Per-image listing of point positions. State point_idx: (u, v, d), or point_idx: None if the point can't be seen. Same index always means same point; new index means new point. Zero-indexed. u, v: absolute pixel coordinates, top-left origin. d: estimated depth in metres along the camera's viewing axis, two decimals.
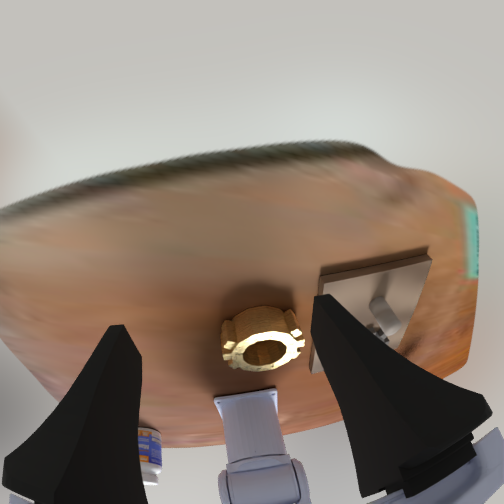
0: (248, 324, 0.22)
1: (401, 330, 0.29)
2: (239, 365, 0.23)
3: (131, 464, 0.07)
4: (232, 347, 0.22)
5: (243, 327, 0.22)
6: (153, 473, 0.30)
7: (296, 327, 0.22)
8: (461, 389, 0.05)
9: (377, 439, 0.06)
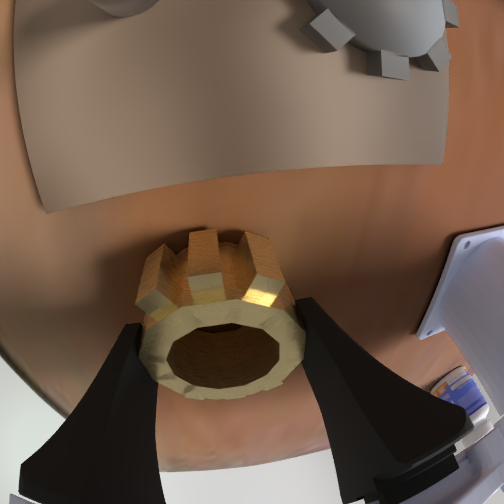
0: None
1: None
2: (261, 387, 0.10)
3: (150, 465, 0.07)
4: None
5: None
6: (478, 424, 0.18)
7: (138, 299, 0.08)
8: (441, 401, 0.05)
9: (353, 448, 0.06)
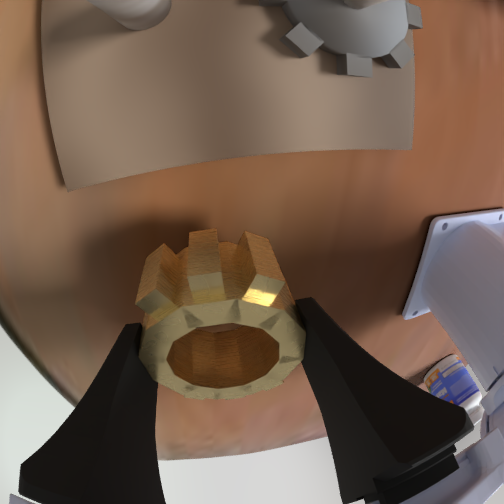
0: None
1: None
2: (261, 387, 0.10)
3: (150, 465, 0.07)
4: None
5: None
6: (471, 411, 0.19)
7: (138, 299, 0.08)
8: (441, 401, 0.05)
9: (353, 448, 0.06)
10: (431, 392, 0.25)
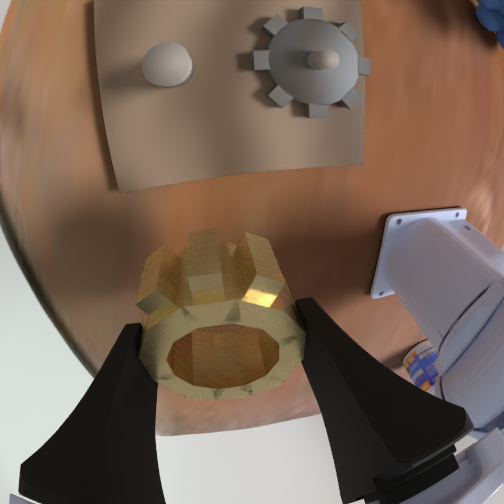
0: None
1: None
2: (261, 387, 0.10)
3: (150, 465, 0.07)
4: None
5: None
6: None
7: (138, 300, 0.08)
8: (441, 401, 0.05)
9: (353, 448, 0.06)
10: (409, 373, 0.30)
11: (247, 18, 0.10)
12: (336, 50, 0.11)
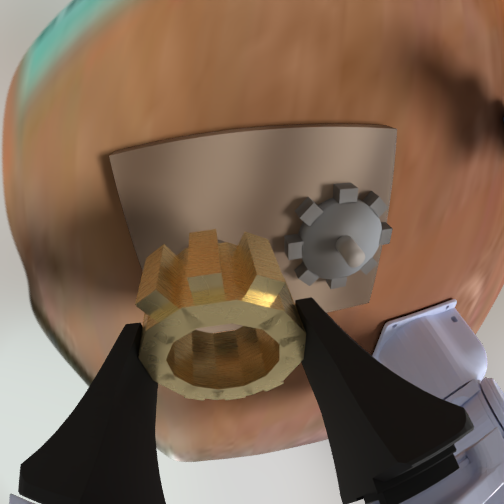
0: None
1: (331, 142, 0.12)
2: (261, 388, 0.10)
3: (150, 465, 0.07)
4: None
5: None
6: None
7: (138, 300, 0.08)
8: (441, 401, 0.05)
9: (353, 448, 0.06)
10: None
11: (283, 199, 0.13)
12: (363, 229, 0.14)
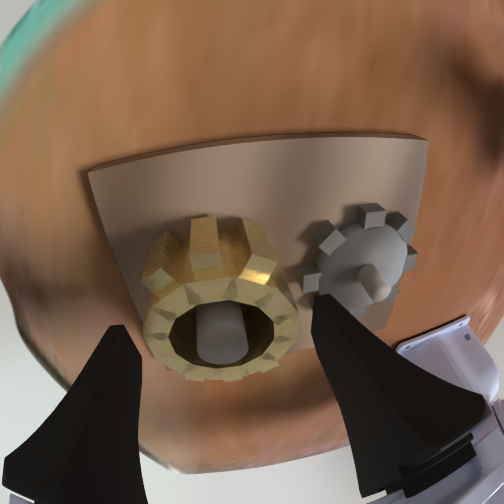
0: None
1: (358, 155, 0.10)
2: (258, 368, 0.11)
3: (131, 464, 0.07)
4: None
5: None
6: None
7: (143, 278, 0.08)
8: (461, 389, 0.05)
9: (377, 439, 0.06)
10: None
11: (299, 224, 0.11)
12: (388, 256, 0.12)
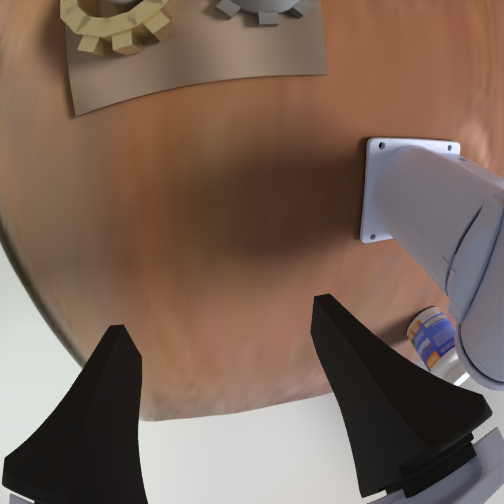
0: None
1: None
2: (145, 14, 0.08)
3: (131, 464, 0.07)
4: (94, 37, 0.08)
5: None
6: (457, 362, 0.22)
7: None
8: (461, 389, 0.05)
9: (377, 439, 0.06)
10: (415, 345, 0.27)
11: None
12: None
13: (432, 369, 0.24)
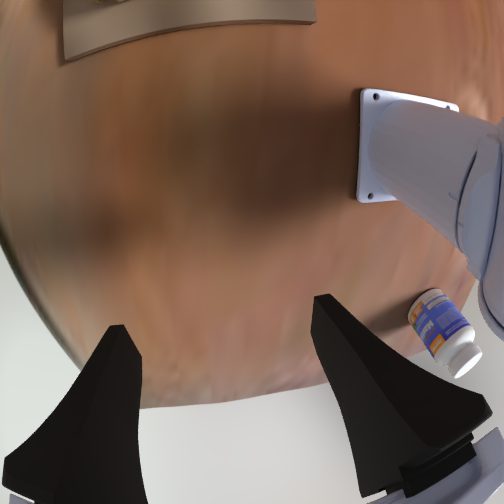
0: None
1: None
2: None
3: (131, 464, 0.07)
4: None
5: None
6: (463, 346, 0.20)
7: None
8: (461, 389, 0.05)
9: (377, 439, 0.06)
10: (417, 329, 0.26)
11: None
12: None
13: (436, 354, 0.22)
